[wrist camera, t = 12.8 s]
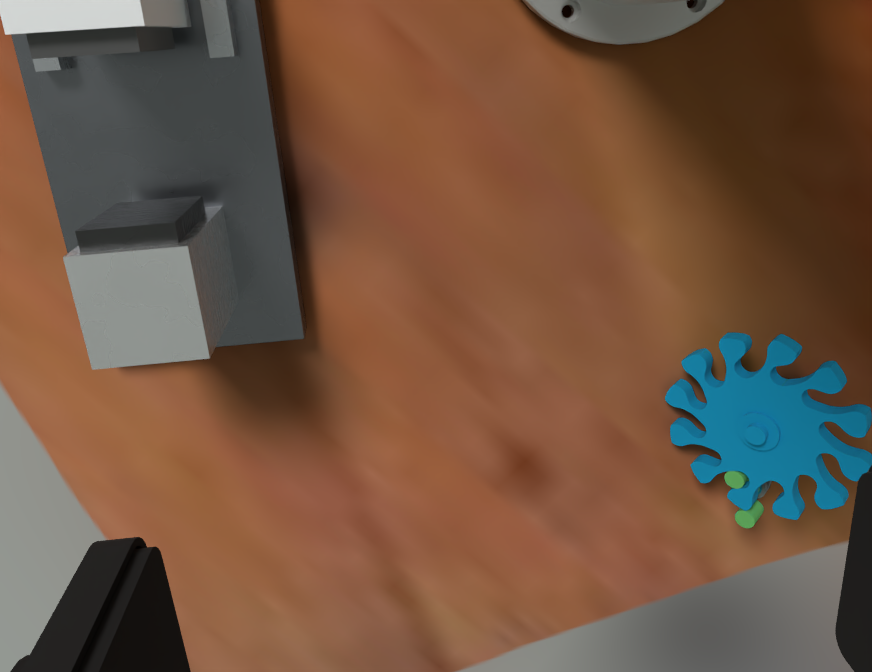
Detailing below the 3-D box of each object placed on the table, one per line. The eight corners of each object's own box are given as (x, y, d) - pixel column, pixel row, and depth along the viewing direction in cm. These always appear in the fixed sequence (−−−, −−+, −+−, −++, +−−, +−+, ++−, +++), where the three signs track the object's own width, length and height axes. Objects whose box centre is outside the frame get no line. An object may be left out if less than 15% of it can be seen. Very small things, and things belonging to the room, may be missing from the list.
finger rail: (236, -160, 31) (189, -225, 23) (306, 327, 39) (289, 403, 31) (-18, -143, 30) (-155, -203, 23) (105, 346, 38) (35, 428, 30)
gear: (678, 312, 38) (899, 388, 33) (726, 276, 42) (930, 338, 37) (642, 486, 44) (826, 576, 38) (687, 439, 48) (860, 515, 42)
